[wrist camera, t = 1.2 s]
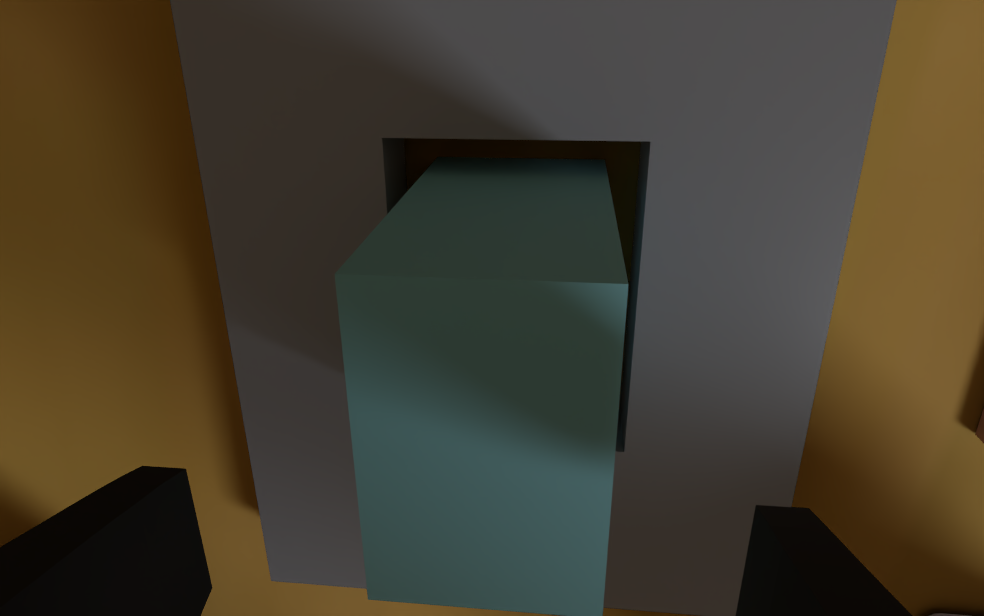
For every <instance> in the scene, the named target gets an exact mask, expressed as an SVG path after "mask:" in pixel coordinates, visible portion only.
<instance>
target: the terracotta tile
mask: <svg viewBox="0 0 984 616" xmlns="http://www.w3.org/2000/svg"><path fill="white" fill-rule="evenodd" d="M975 435H976V436H977V437H978V438H979V439H980V440H981V441H982V442H983V443H984V409H983V412H982V415H981V418H980V421H979V424H978V427H977V431H976V434H975Z"/></svg>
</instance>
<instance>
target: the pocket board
mask: <svg viewBox="0 0 984 616" xmlns="http://www.w3.org/2000/svg"><path fill="white" fill-rule="evenodd" d="M170 3H171V9H172V15H173V20H174V26H175V32H176V37H177V43H178V49H179V55H180V60H181V66H182V72H183V78H184V83H185V89H186V95H187V101H188V106H189V112H190V118H191V123H192V129H193V135H194V141H195V146H196V152H197V158H198V164H199V169H200V175H201V181H202V187H203V192H204V198H205V204H206V209H207V215H208V221H209V227H210V232H211V238H212V244H213V250H214V255H215V261H216V267H217V272H218V278H219V284H220V290H221V295H222V301H223V307H224V313H225V318H226V324H227V330H228V336H229V341H230V347H231V353H232V358H233V364H234V370H235V376H236V381H237V387H238V393H239V399H240V404H241V410H242V416H243V421H244V427H245V433H246V439H247V444H248V450H249V456H250V462H251V467H252V473H253V479H254V485H255V490H256V496H257V502H258V507H259V513H260V519H261V525H262V530H263V536H264V542H265V548H266V553H267V559H268V565H269V571H270V576H271V581H279V582H291V583H303V584H316V585H328V586H341V587H353V588H366V589H367V584H366V575H365V565H364V555H363V546H362V536H361V526H360V517H359V507H358V497H357V487H356V478H355V468H354V458H353V449H352V439H351V429H350V420H349V410H348V400H347V390H346V381H345V371H344V361H343V352H342V342H341V332H340V323H339V313H338V303H337V293H336V284H335V273H336V272H337V271H338V270H339V268H340V267H341V266H342V265H343V264H344V263H345V262H346V260H347V259H348V258H349V257H350V256H351V255H352V254H353V253H354V251H355V250H356V249H357V248H358V247H359V246H360V245H361V243H362V242H363V241H364V240H365V239H366V238H367V237H368V236H369V234H370V233H371V232H372V231H373V230H374V229H375V228H376V226H377V225H378V224H379V223H380V222H381V221H382V220H383V218H384V217H385V216H386V215H387V214H388V213H389V212H390V211H391V209H392V208H393V207H394V206H395V205H396V204H397V203H398V201H399V200H400V199H401V198H402V197H403V196H404V195H405V194H406V192H407V185H406V167H405V149H404V138H428V139H501V140H574V141H641V145H640V157H639V170H638V183H637V195H636V208H635V221H634V233H633V246H632V259H631V271H630V284H629V297H628V309H627V322H626V335H625V347H624V360H623V373H622V385H621V398H620V409H619V412H618V424H617V437H616V450H615V463H614V475H613V488H612V501H611V514H610V526H609V539H608V552H607V565H606V577H605V590H604V603H603V608H614V609H626V610H639V611H651V612H664V613H676V614H689V615H701V616H736V610H737V605H738V600H739V594H740V589H741V583H742V578H743V572H744V567H745V561H746V556H747V550H748V545H749V539H750V534H751V528H752V523H753V517H754V512H755V506H756V505H765V506H781V507H791V506H792V501H793V497H794V492H795V487H796V482H797V477H798V472H799V468H800V463H801V458H802V453H803V448H804V444H805V439H806V434H807V429H808V424H809V419H810V415H811V410H812V405H813V400H814V395H815V391H816V386H817V381H818V376H819V371H820V366H821V362H822V357H823V352H824V347H825V342H826V338H827V333H828V328H829V323H830V318H831V313H832V309H833V304H834V299H835V294H836V289H837V285H838V280H839V275H840V270H841V265H842V261H843V256H844V251H845V246H846V241H847V236H848V232H849V227H850V222H851V217H852V212H853V208H854V203H855V198H856V193H857V188H858V183H859V179H860V174H861V169H862V164H863V159H864V155H865V150H866V145H867V140H868V135H869V130H870V126H871V121H872V116H873V111H874V106H875V102H876V97H877V92H878V87H879V82H880V77H881V73H882V68H883V63H884V58H885V53H886V49H887V44H888V39H889V34H890V29H891V24H892V20H893V15H894V10H895V5H896V0H170Z"/></svg>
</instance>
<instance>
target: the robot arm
mask: <svg viewBox="0 0 984 616" xmlns="http://www.w3.org/2000/svg"><path fill="white" fill-rule="evenodd" d="M211 590H212V584H211V580H210V575H209V571H208V566H207V562H206V557H205V553H204V548H203V544H202V539H201V535H200V530H199V526H198V521H197V517H196V512H195V508H194V503H193V499H192V494H191V490H190V485H189V481H188V476H187V472H186V469H182V468H166V467H150V466H141V467H139V468H137V469H135V470H133V471H131V472H129V473H127V474H125V475H123V476H121V477H120V478H118V479H116V480H114V481H112V482H111V483H109V484H107V485H105V486H103V487H102V488H100V489H98V490H96V491H95V492H93V493H91V494H90V495H88V496H86V497H84V498H83V499H81V500H79V501H78V502H76V503H74V504H73V505H71V506H69V507H67V508H66V509H64V510H62V511H61V512H59V513H57V514H56V515H54V516H52V517H51V518H49V519H47V520H46V521H44V522H42V523H41V524H39V525H37V526H35V527H34V528H32V529H30V530H29V531H27V532H25V533H24V534H22V535H20V536H19V537H17V538H15V539H13V540H12V541H10V542H8V543H7V544H5V545H3V546H2V547H0V616H201V613H202V611H203V609H204V606H205V604H206V601H207V599H208V597H209V594H210V592H211ZM736 616H912V615H911V614H910V613H909V612H908V611H907V610H906V609H905V608H904V607H903V606H902V605H901V604H900V603H899V602H898V601H897V600H896V599H895V598H894V596H893V595H892V594H891V593H890V592H889V591H888V590H887V589H886V588H885V587H884V586H883V585H882V584H881V583H880V582H879V581H878V580H877V579H876V578H875V577H874V576H873V575H872V574H871V573H870V572H869V571H868V570H867V568H866V567H865V566H864V565H863V564H862V563H861V562H860V561H859V560H858V559H857V558H856V557H855V556H854V555H853V554H852V553H851V552H850V551H849V550H848V549H847V547H846V546H845V545H844V544H843V543H842V542H841V541H840V540H839V539H838V538H837V537H836V536H835V535H834V534H833V533H832V532H831V531H830V530H829V529H828V527H827V526H826V525H825V524H824V523H823V522H822V521H821V520H820V519H819V518H818V517H817V516H816V515H815V514H814V513H813V512H812V511H811V510H810V509H809V508H797V507H781V506H765V505H756V506H755V512H754V517H753V523H752V528H751V534H750V539H749V545H748V550H747V556H746V561H745V567H744V572H743V578H742V583H741V589H740V594H739V600H738V605H737V610H736ZM929 616H970V615H957V614H944V613H937V614H932V615H929Z"/></svg>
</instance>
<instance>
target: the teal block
mask: <svg viewBox="0 0 984 616" xmlns="http://www.w3.org/2000/svg"><path fill="white" fill-rule="evenodd" d="M335 284H336V293H337V303H338V313H339V323H340V332H341V342H342V352H343V361H344V371H345V381H346V390H347V400H348V410H349V420H350V429H351V439H352V449H353V458H354V468H355V478H356V487H357V497H358V507H359V517H360V526H361V536H362V546H363V555H364V565H365V575H366V584H367V594H368V599H369V600H381V601H393V602H405V603H418V604H430V605H442V606H454V607H466V608H479V609H491V610H503V611H515V612H527V613H539V614H552V615H564V616H603V603H604V590H605V577H606V565H607V552H608V539H609V526H610V514H611V501H612V488H613V475H614V463H615V450H616V437H617V424H618V412H619V399H620V386H621V373H622V361H623V348H624V335H625V322H626V309H627V297H628V279H627V274H626V268H625V263H624V258H623V253H622V248H621V242H620V237H619V232H618V227H617V221H616V216H615V211H614V206H613V200H612V195H611V190H610V185H609V179H608V174H607V169H606V164H605V160H603V159H542V158H480V157H437V158H436V159H435V161H434V162H433V163H432V164H431V165H430V166H429V167H428V169H427V170H426V171H425V172H424V173H423V174H422V175H421V176H420V178H419V179H418V180H417V181H416V182H415V183H414V184H413V186H412V187H411V188H410V189H409V190H408V191H407V192H406V194H405V195H404V196H403V197H402V198H401V199H400V200H399V201H398V203H397V204H396V205H395V206H394V207H393V208H392V209H391V211H390V212H389V213H388V214H387V215H386V216H385V217H384V218H383V220H382V221H381V222H380V223H379V224H378V225H377V226H376V228H375V229H374V230H373V231H372V232H371V233H370V234H369V236H368V237H367V238H366V239H365V240H364V241H363V242H362V243H361V245H360V246H359V247H358V248H357V249H356V250H355V251H354V253H353V254H352V255H351V256H350V257H349V258H348V259H347V260H346V262H345V263H344V264H343V265H342V266H341V267H340V268H339V270H338V271H337V272H336V273H335Z"/></svg>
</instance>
